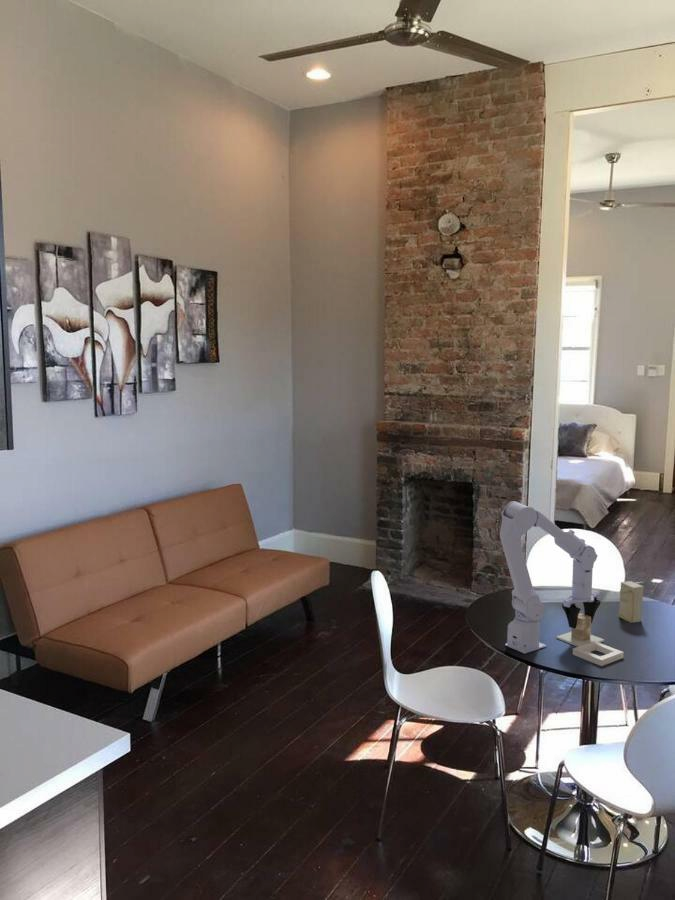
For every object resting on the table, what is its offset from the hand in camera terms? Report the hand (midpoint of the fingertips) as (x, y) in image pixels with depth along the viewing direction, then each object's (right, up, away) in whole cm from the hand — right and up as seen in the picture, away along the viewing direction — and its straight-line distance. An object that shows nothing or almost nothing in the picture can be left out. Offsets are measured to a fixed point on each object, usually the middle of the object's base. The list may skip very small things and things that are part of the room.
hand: (580, 624), depth 227 cm
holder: (+1, -6, -12) cm, 13 cm away
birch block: (0, -4, 0) cm, 4 cm away
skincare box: (+22, -3, +18) cm, 29 cm away
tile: (0, -5, +1) cm, 5 cm away
